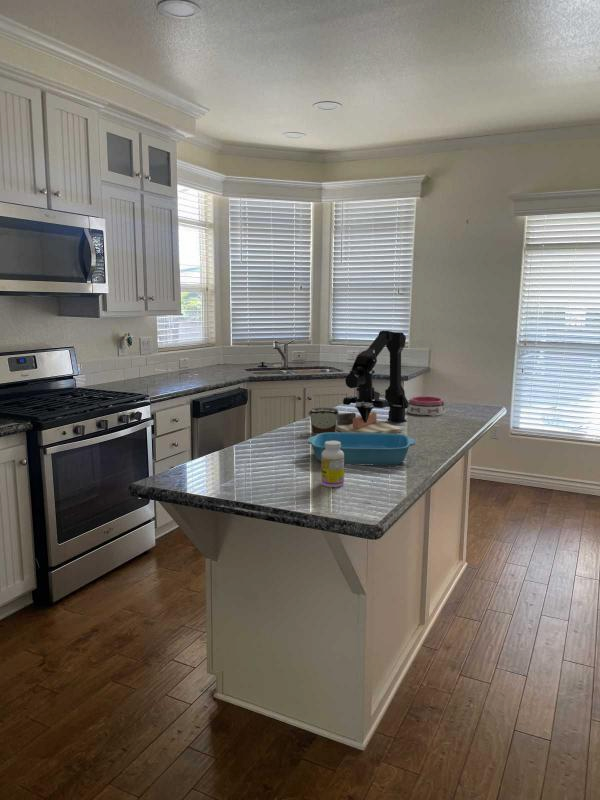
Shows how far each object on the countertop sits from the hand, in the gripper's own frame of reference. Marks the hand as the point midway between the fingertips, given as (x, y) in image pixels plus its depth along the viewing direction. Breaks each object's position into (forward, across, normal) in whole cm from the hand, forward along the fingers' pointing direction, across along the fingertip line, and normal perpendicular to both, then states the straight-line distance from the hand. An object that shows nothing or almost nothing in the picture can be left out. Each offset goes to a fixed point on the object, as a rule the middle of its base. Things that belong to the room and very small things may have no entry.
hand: (365, 422), depth 244 cm
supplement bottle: (+4, -29, +67) cm, 73 cm away
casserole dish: (+4, -20, +37) cm, 42 cm away
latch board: (+4, +1, -3) cm, 5 cm away
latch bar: (+2, +3, -4) cm, 5 cm away
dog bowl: (+4, -2, -54) cm, 54 cm away
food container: (+4, +13, +11) cm, 18 cm away
